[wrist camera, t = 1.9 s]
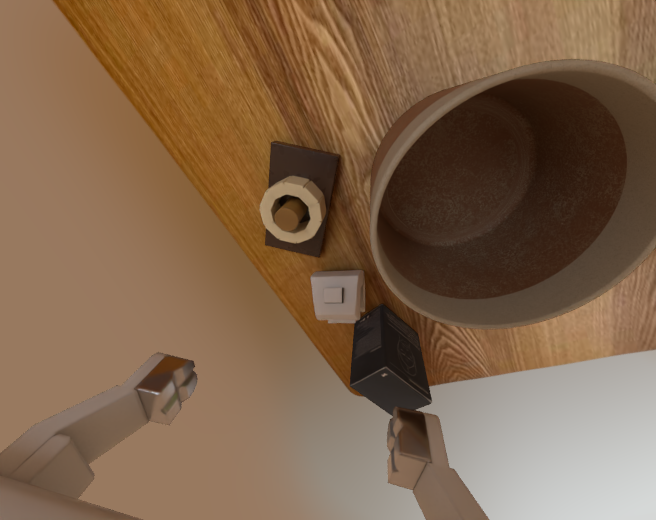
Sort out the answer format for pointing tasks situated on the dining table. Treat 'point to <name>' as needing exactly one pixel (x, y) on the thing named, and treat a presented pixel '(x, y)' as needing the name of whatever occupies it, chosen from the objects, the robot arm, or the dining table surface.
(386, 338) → the box
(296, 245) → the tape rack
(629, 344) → the dining table surface
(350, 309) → the grey boxy gadget
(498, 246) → the planter
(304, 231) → the tape roll
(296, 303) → the dining table surface
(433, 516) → the robot arm
